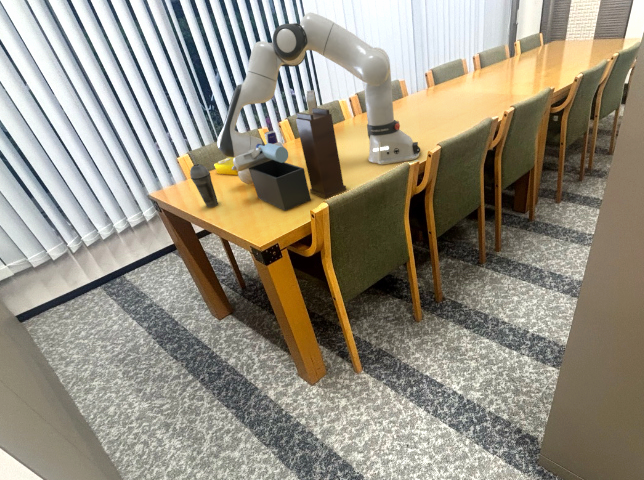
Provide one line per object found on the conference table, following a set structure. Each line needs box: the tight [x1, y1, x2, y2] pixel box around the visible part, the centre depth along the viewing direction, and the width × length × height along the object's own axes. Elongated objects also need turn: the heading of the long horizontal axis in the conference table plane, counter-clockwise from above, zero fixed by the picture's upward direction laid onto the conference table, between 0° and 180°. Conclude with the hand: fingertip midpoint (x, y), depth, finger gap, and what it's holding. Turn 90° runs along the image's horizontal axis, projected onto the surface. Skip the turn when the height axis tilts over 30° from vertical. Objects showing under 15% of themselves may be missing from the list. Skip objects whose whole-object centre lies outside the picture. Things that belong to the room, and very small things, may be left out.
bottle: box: [256, 143, 289, 163], centre depth 139 cm, size 17×5×5 cm, turn 40°
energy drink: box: [264, 130, 279, 144], centre depth 189 cm, size 5×5×12 cm
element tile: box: [213, 157, 238, 176], centre depth 187 cm, size 15×15×5 cm
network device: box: [305, 89, 318, 114], centre depth 210 cm, size 26×9×20 cm, turn 6°
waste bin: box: [249, 160, 312, 212], centre depth 147 cm, size 21×11×12 cm, turn 40°
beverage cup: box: [189, 151, 219, 209], centre depth 149 cm, size 7×7×20 cm
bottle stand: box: [295, 107, 347, 200], centre depth 141 cm, size 10×10×28 cm
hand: (264, 148), depth 141 cm, fingers closed on bottle, 2 cm apart
